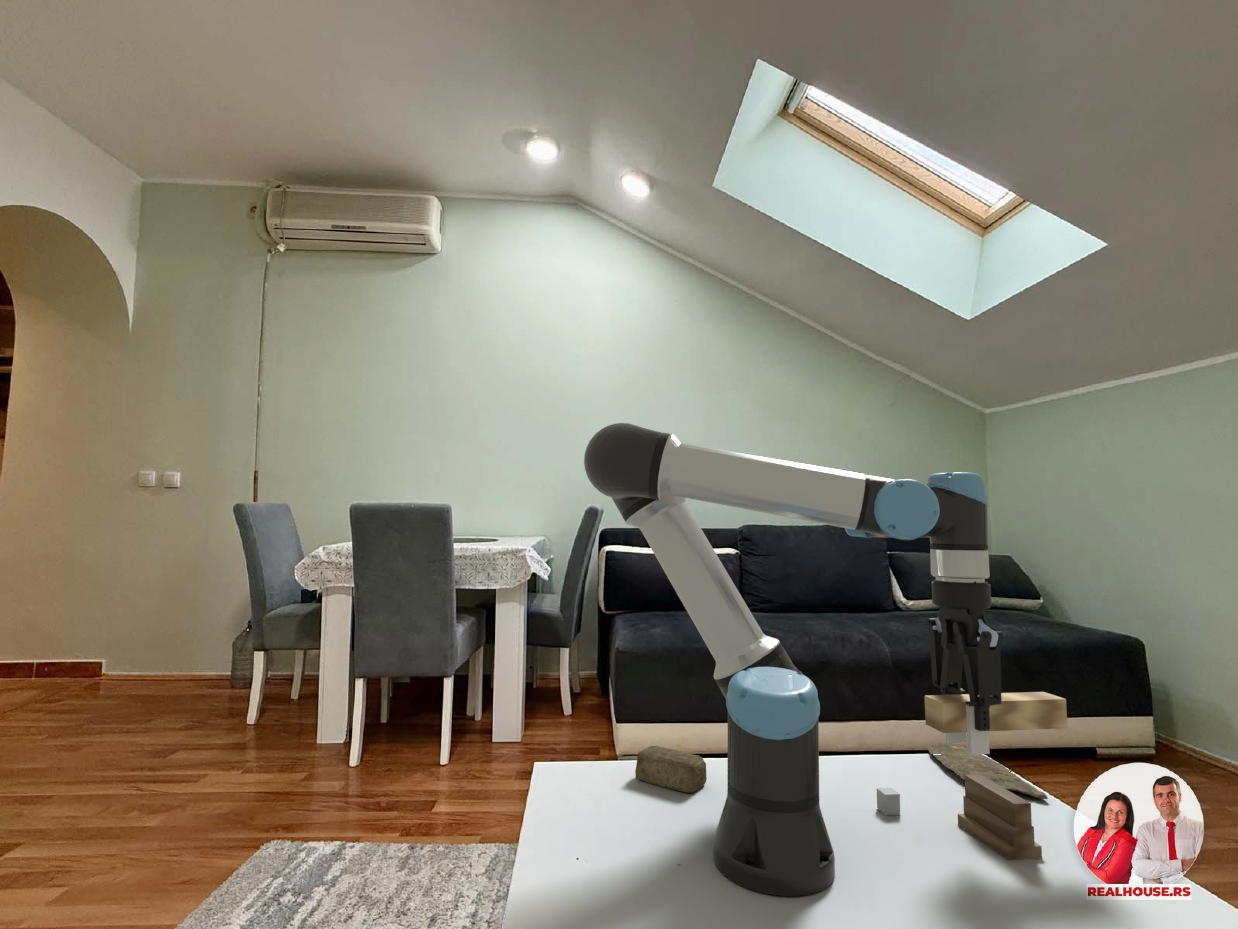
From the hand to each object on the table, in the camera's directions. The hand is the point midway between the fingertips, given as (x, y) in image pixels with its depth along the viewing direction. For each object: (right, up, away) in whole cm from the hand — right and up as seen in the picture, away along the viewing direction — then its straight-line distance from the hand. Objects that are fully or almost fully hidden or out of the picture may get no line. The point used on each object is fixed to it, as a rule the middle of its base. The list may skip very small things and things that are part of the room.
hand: (967, 747), depth 90 cm
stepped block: (+4, -13, -1) cm, 14 cm away
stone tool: (+15, -16, +24) cm, 33 cm away
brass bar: (+5, +3, +1) cm, 5 cm away
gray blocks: (0, -14, +9) cm, 16 cm away
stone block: (-40, -14, +18) cm, 46 cm away
